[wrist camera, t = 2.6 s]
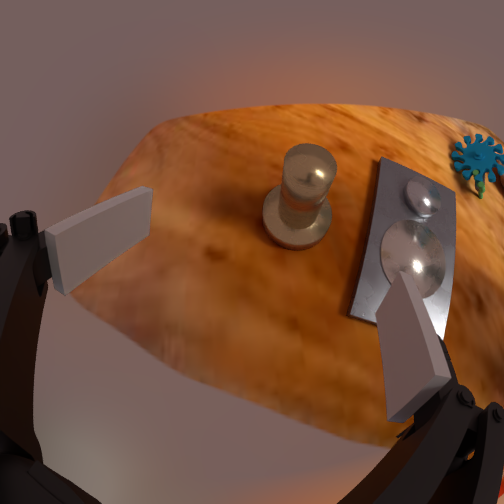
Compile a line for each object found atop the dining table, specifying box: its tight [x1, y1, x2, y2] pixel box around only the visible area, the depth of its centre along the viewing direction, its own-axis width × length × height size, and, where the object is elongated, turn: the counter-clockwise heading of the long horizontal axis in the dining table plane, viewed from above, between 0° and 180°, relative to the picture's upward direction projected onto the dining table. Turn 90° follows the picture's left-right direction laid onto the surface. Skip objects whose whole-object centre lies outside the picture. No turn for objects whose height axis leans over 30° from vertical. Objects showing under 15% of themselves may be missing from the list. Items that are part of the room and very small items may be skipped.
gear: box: [451, 134, 504, 199], centre depth 28 cm, size 11×6×10 cm
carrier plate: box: [346, 157, 456, 340], centre depth 26 cm, size 12×20×2 cm, turn 160°
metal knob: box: [263, 143, 337, 251], centre depth 24 cm, size 7×7×10 cm
